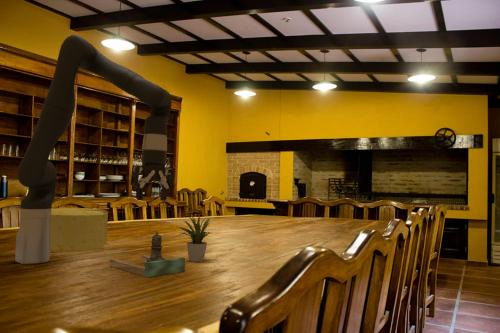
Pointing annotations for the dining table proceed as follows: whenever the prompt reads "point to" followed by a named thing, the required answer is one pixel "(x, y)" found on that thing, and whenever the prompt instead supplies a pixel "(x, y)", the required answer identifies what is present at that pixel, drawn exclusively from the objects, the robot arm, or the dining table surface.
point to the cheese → (78, 229)
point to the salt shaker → (156, 249)
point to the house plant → (196, 240)
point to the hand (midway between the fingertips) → (151, 200)
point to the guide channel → (151, 266)
